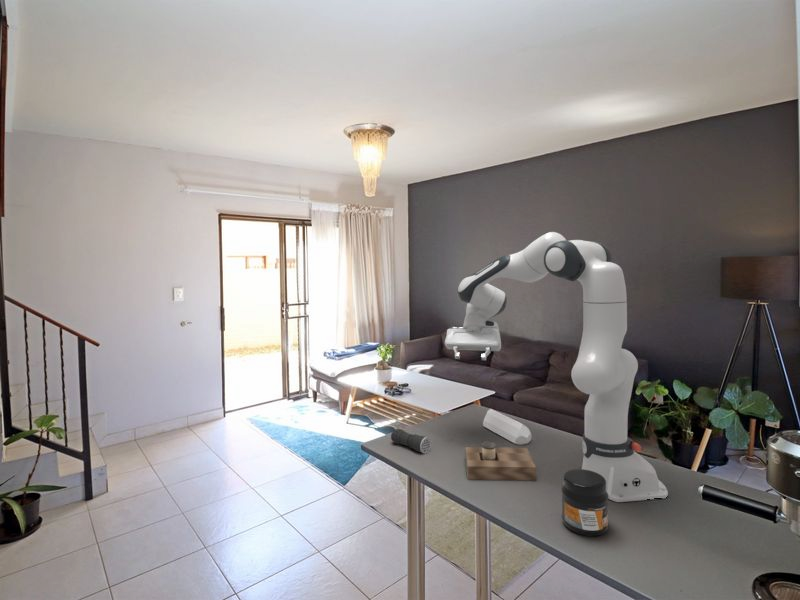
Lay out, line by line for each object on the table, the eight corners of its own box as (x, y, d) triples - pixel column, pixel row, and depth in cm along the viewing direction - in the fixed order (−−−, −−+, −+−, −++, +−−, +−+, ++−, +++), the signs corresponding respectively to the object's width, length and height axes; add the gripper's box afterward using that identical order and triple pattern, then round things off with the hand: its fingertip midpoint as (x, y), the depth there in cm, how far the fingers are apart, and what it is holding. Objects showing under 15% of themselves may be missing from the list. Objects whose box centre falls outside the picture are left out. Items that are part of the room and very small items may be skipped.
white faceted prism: (475, 417, 173) (514, 437, 151) (488, 405, 176) (528, 424, 154) (484, 431, 175) (522, 453, 153) (496, 419, 177) (536, 440, 156)
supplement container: (591, 544, 98) (591, 493, 98) (552, 522, 107) (552, 475, 106) (617, 527, 104) (617, 479, 103) (578, 508, 113) (578, 463, 112)
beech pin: (494, 466, 138) (494, 441, 138) (496, 472, 134) (496, 446, 134) (481, 465, 139) (481, 441, 138) (483, 471, 135) (482, 446, 134)
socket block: (527, 459, 142) (526, 447, 142) (536, 480, 128) (535, 467, 128) (465, 458, 144) (465, 447, 144) (467, 479, 130) (467, 466, 130)
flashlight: (389, 444, 159) (389, 429, 158) (399, 439, 163) (399, 425, 162) (421, 455, 148) (420, 440, 148) (431, 450, 152) (430, 435, 152)
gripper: (446, 321, 163) (439, 352, 155) (501, 322, 156) (498, 355, 147) (449, 331, 167) (443, 362, 159) (503, 333, 160) (500, 365, 152)
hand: (470, 358), depth 153 cm, fingers open, 8 cm apart
